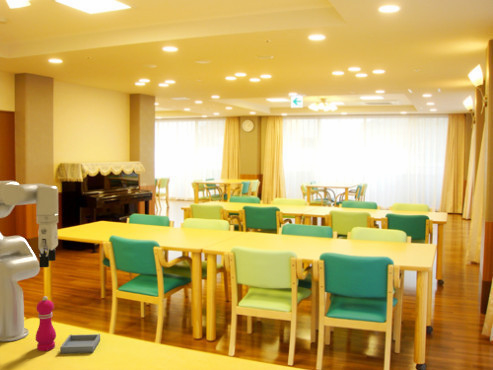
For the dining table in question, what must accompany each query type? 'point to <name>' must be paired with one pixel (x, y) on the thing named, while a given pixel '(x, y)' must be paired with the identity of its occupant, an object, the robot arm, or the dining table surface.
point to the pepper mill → (45, 326)
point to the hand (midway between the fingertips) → (47, 263)
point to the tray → (80, 344)
